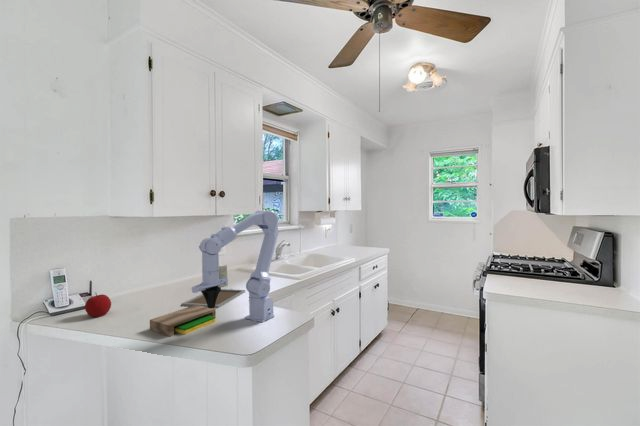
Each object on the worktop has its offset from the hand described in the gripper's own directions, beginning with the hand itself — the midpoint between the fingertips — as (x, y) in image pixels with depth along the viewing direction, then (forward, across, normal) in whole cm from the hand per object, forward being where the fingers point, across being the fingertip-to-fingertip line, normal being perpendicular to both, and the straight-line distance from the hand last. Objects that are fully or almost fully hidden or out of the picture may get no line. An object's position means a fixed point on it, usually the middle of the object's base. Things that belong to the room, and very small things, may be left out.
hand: (211, 307), depth 107 cm
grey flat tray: (+9, -30, -32) cm, 45 cm away
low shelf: (+8, 0, -15) cm, 17 cm away
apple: (+9, +11, -57) cm, 59 cm away
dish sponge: (+9, 0, -9) cm, 13 cm away
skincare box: (+9, -49, -49) cm, 69 cm away
